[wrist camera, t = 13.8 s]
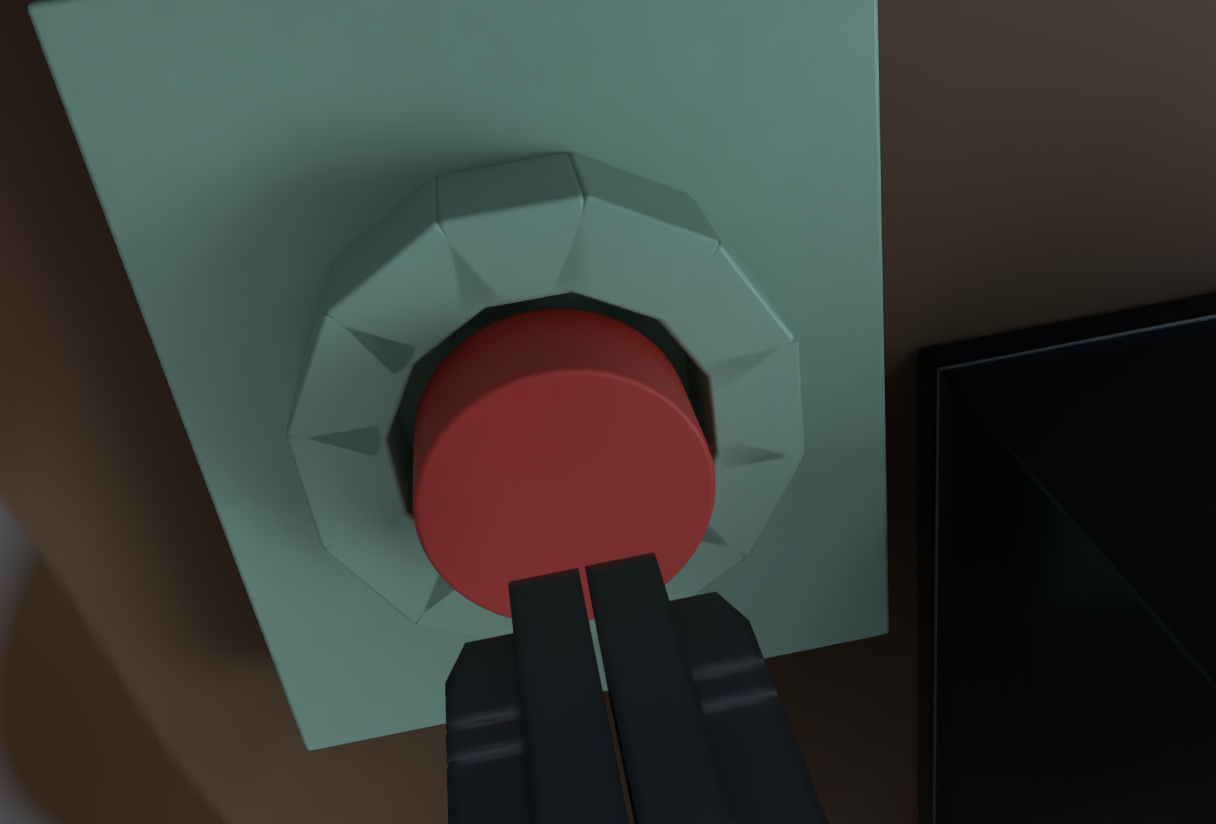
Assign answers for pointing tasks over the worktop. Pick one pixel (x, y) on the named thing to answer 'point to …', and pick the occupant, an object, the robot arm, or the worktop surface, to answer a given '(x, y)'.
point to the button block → (493, 283)
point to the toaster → (1070, 571)
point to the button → (556, 455)
